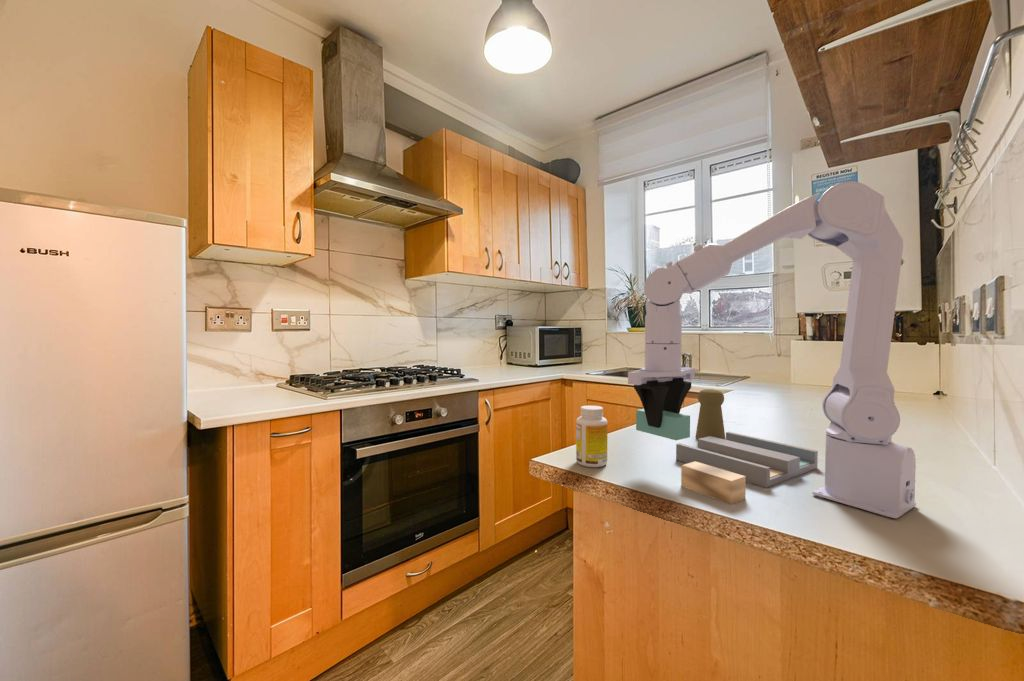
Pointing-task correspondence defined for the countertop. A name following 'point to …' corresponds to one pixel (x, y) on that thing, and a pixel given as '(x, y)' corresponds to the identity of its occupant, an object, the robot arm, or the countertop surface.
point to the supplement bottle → (591, 437)
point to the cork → (710, 414)
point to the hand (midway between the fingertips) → (662, 424)
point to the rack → (751, 457)
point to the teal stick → (665, 425)
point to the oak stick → (713, 482)
